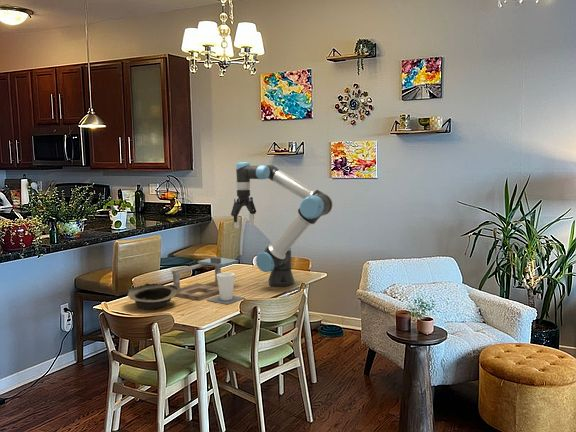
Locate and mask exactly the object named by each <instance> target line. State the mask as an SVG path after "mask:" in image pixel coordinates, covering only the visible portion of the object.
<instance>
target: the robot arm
mask: <svg viewBox="0 0 576 432" xmlns="http://www.w3.org/2000/svg"><path fill="white" fill-rule="evenodd" d="M235 166H236V168H235V169H236V170H235V171H236V189H237V190H236V197H237V198H234V201H233V202H234V203H233V204H232V205H233V206H232V209H231V212H230V216H232V217H233V225H234V229H239V228H240V223H239V222H240V218H239V214H240V212H241V210H242V208H243V207H246V209H247V210H248V212H249V214H248V225H249V226H255V223H254V219H255V215H256V213H257V210H256V206H255V204H254V199H253V198H254V197H252V196H251V190H250V189H251V180H261V181H262V180H267V179H268V180H270V181H271V182H274V183H275V184H277V185H279V186H281V187H282V188H284V189H286V190H287V191H289V192H290V193H292V194H293V195H295V196H298V198H301V202H300V205H299V208H298V209H297V215H296V216H295V217H294V218H293V220H292V221H291V222H290V223H289V224H288V226H287V227H286V228H285V229H284V230H283V232H282V233H281V234H280V235H279V237H278V238H277V239H276V240H275V241H274V242H273V243H269V244H268V245H267V247H266V248H265V249H264V250H263V251H260V252H259V253H258V254H257V255H256V258H255V261H256V266H257V268H258V269H259V270H260V271H262V272H265V273H270V275H269V278H268V285H269V286H272V287H277V288H278V287H281V288H282V287H291V286H294V285H295V278H294V275H293V272H292V248H291V247H293V246H294V244H295V242H297V240H298V239H299V238H300V237H301V236H302V235H303V233H304V232H305V231H306V230H307V229H308V228H309V226H310V225H315V224H316V223H317V222H318V220H319V219H320V218H321V217H323V216H326V215H328V214H330V212H331V211H332V209H333V200H332V198H331V196H329V195H328V194H326V193H324V192H323V191H320V190H318V189H313V188H312V187H310V186H309V185H306V184H304V183H303V182H302V181H299V180H297V179H296V178H294V177H292V176H291V175H290V174H288V173H286V172H284V171H282V170H280V169H279V167H278V166H277V165H275V164H267V165H266V164H265V165H251V164H250V162H249V161H246V162H245V161H244V162H243V161H242V162H237V163H236V165H235Z"/></svg>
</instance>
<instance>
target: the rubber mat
mask: <svg viewBox="0 0 576 432" xmlns="http://www.w3.org/2000/svg"><path fill="white" fill-rule="evenodd" d="M244 299H246V298H245V297H243V296H237V295H233V297H232V299H231V300H221V299H220V295H218V296H217V295H216V296H215V297H214V296H213V297H210V298H207V299H206V301H207V302H212V303H215V304H216V303H217V304H221V305H222V304H223V305H231V304H233V303H236V302H239V301H242V300H244Z"/></svg>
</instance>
